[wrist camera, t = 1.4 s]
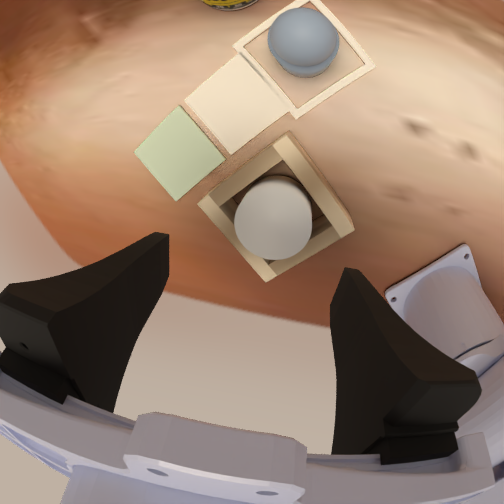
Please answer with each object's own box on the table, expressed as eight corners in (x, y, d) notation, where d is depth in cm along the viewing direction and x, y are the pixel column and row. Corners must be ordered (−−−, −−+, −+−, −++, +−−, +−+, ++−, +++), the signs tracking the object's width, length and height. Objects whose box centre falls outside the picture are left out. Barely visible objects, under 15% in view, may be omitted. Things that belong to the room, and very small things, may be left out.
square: (291, 109, 17) (291, 109, 17) (231, 154, 20) (231, 155, 19) (241, 51, 16) (241, 51, 16) (185, 100, 18) (184, 100, 18)
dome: (325, 216, 19) (326, 235, 17) (271, 250, 21) (265, 272, 19) (283, 161, 18) (280, 172, 16) (230, 200, 20) (218, 217, 17)
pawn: (342, 59, 15) (361, 40, 9) (300, 87, 17) (296, 82, 11) (308, 19, 14) (307, -17, 8) (265, 48, 16) (244, 25, 10)
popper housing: (349, 214, 20) (354, 230, 18) (270, 263, 23) (265, 282, 21) (289, 130, 18) (286, 135, 16) (209, 191, 21) (197, 203, 19)
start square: (375, 67, 15) (376, 66, 15) (296, 119, 18) (295, 119, 18) (310, -8, 13) (310, -9, 13) (232, 46, 16) (231, 45, 16)
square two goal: (226, 159, 20) (225, 159, 20) (177, 200, 22) (176, 201, 22) (179, 105, 18) (178, 105, 18) (134, 151, 21) (133, 152, 20)
